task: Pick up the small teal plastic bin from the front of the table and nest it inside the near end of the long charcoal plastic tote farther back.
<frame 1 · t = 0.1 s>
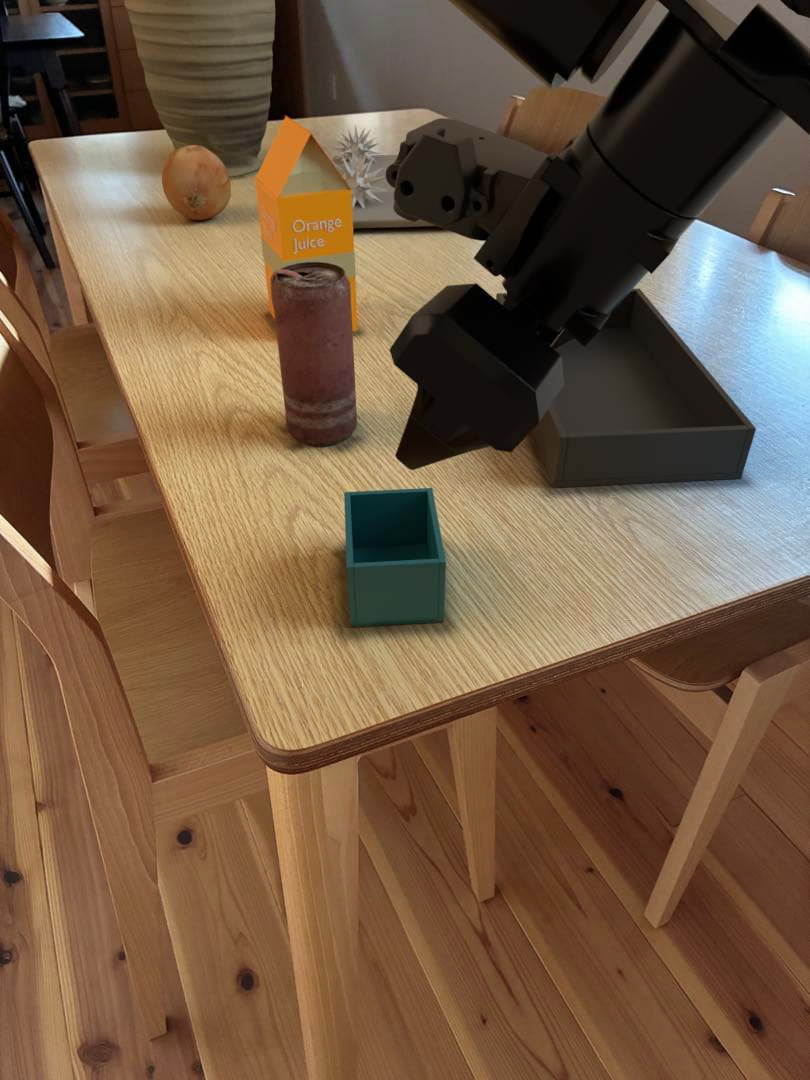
hand: (440, 420, 43), 15 cm above the table, tool tilted 30°, fingers open, 9 cm apart
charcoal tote: (599, 396, 75), on the table
onion: (202, 219, 120), on the table
orange juice: (313, 323, 90), on the table
soda can: (321, 432, 71), on the table
decorative tray: (405, 200, 127), on the table
vase: (223, 168, 145), on the table
teal bin: (393, 583, 55), on the table
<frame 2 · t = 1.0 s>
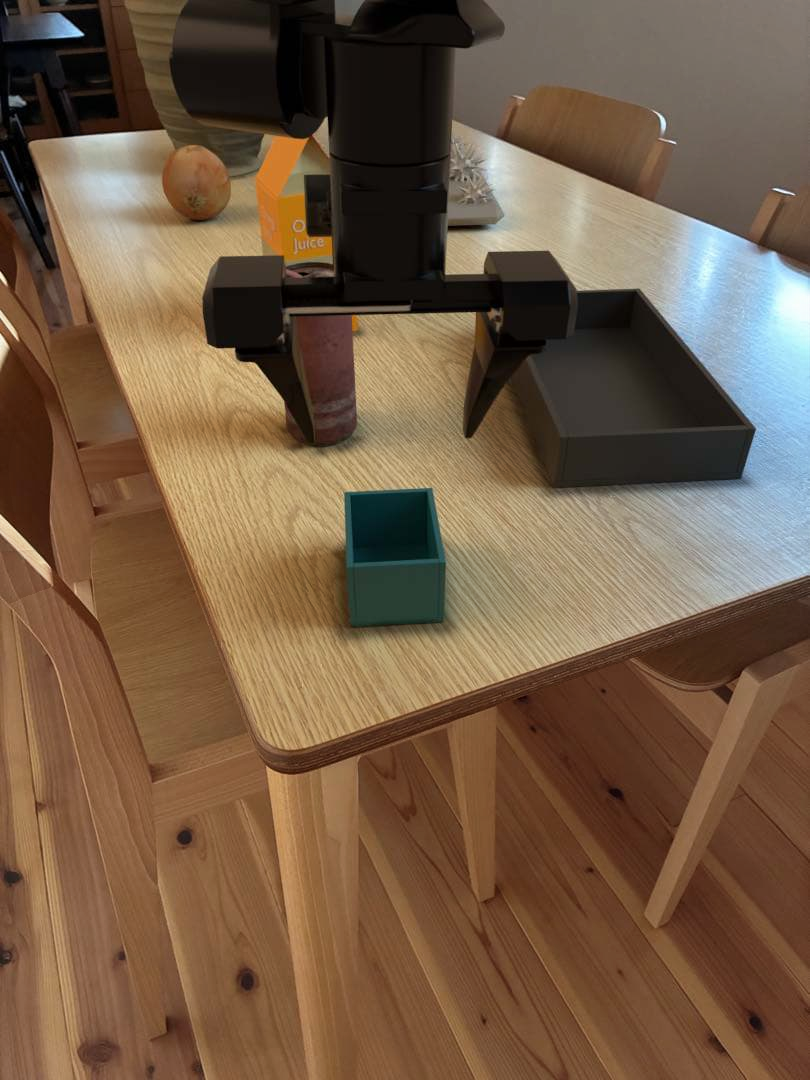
hand: (389, 437, 47), 11 cm above the table, tool pointing down, fingers open, 9 cm apart
nothing on the table moved.
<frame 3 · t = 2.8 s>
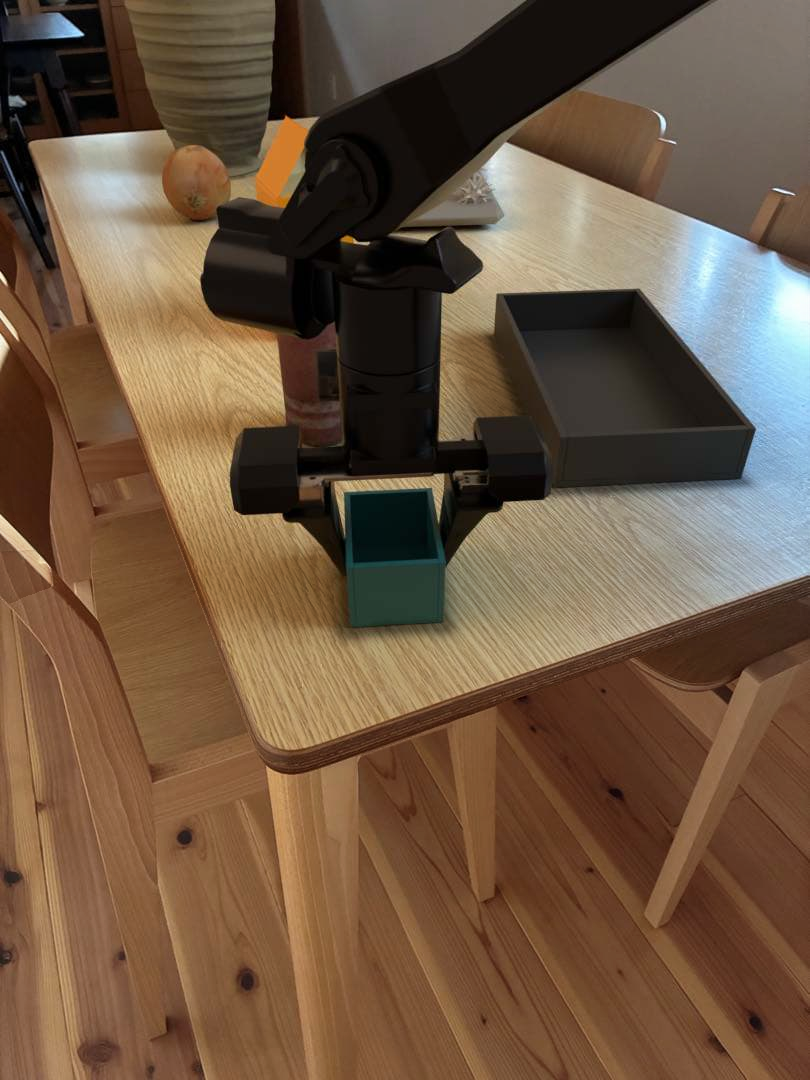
hand: (393, 570, 54), 1 cm above the table, tool pointing down, fingers closed on teal bin, 6 cm apart
teal bin: (393, 583, 55), on the table, touching gripper
everything else where it was.
when the fingers open (2 cm above the table, at t = 9.1 s): teal bin stays where it is, resting on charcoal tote.
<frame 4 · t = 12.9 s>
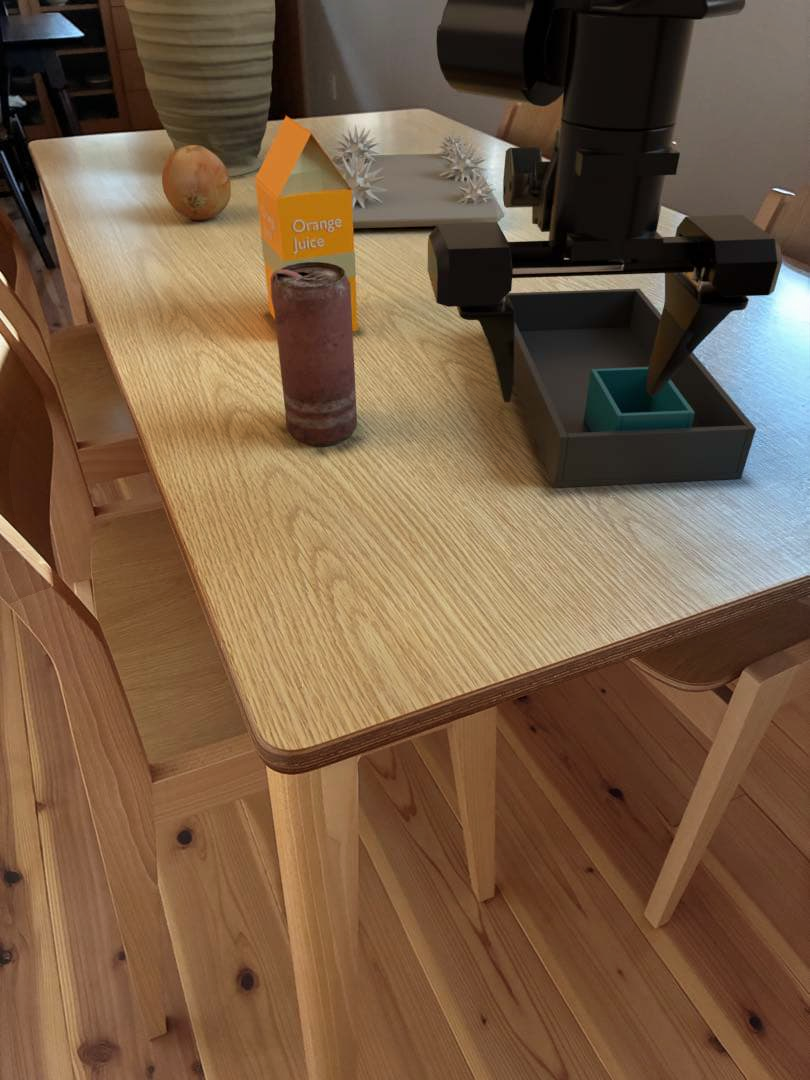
hand: (578, 396, 50), 12 cm above the table, tool pointing down, fingers open, 9 cm apart
teal bin: (630, 443, 68), point 1 cm above the table, touching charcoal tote
everything else where it was.
at the end: teal bin inside the target area in the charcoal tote (0.2 cm from its centre), point 0.6 cm above the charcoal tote's base; teal bin tilted 0° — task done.
